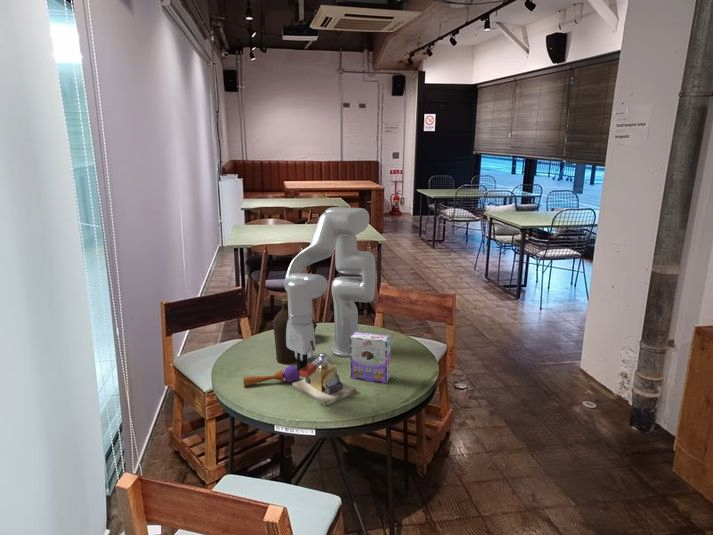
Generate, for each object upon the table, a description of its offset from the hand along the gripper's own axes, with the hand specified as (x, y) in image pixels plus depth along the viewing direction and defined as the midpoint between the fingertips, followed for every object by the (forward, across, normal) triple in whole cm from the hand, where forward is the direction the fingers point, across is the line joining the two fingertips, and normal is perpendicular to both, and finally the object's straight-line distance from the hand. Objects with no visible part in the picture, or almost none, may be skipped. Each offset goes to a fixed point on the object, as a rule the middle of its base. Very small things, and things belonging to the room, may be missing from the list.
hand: (302, 369), depth 163 cm
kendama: (+11, -16, 0) cm, 20 cm away
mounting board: (+10, +1, +9) cm, 14 cm away
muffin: (+11, -39, +34) cm, 53 cm away
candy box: (+11, +7, +26) cm, 29 cm away
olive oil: (+11, -28, +16) cm, 34 cm away
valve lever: (+2, +2, +3) cm, 4 cm away
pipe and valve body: (+9, +1, +9) cm, 12 cm away
